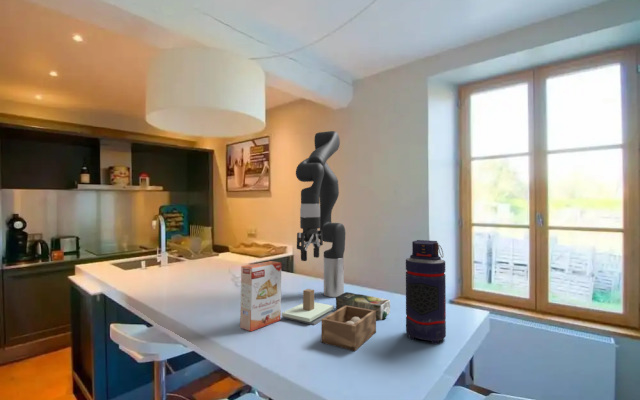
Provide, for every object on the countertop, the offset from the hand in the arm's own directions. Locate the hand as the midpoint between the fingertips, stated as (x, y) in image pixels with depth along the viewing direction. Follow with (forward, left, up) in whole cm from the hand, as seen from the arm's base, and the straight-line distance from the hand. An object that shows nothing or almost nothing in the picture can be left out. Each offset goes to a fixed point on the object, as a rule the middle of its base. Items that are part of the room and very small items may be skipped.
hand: (310, 259), depth 121 cm
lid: (0, -1, -20) cm, 20 cm away
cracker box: (+16, -10, -21) cm, 29 cm away
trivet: (0, -1, -21) cm, 21 cm away
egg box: (+10, +21, -21) cm, 32 cm away
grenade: (-4, +41, -21) cm, 47 cm away
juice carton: (-14, +15, -22) cm, 30 cm away
